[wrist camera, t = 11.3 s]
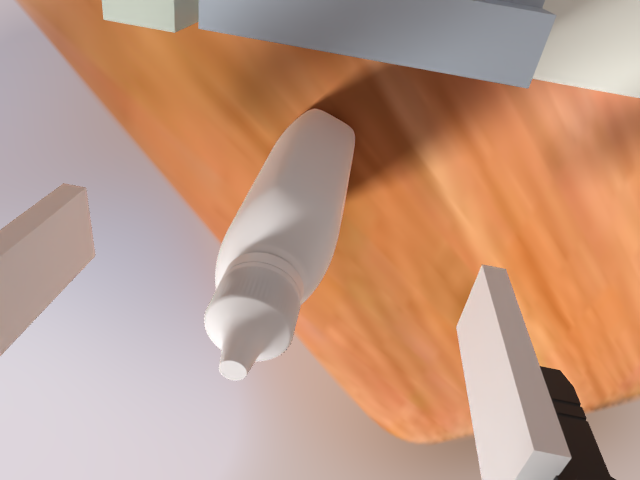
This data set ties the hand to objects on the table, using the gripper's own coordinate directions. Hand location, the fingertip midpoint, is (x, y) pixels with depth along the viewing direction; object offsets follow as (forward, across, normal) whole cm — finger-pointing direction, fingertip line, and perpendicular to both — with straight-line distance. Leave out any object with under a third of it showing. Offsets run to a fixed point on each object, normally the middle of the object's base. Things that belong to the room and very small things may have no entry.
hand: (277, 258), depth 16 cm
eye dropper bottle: (+7, 0, 0) cm, 7 cm away
